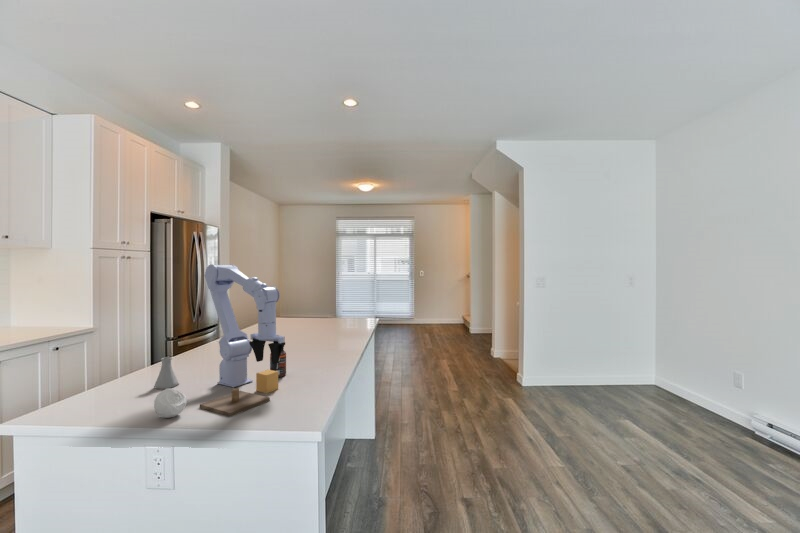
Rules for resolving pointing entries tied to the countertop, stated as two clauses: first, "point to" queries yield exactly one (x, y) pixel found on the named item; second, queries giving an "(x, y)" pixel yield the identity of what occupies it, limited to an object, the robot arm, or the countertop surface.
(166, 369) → the flask
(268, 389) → the golden yellow cube
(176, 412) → the white ridged ball
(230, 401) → the flat brown square board
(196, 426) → the countertop surface
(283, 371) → the supplement bottle
